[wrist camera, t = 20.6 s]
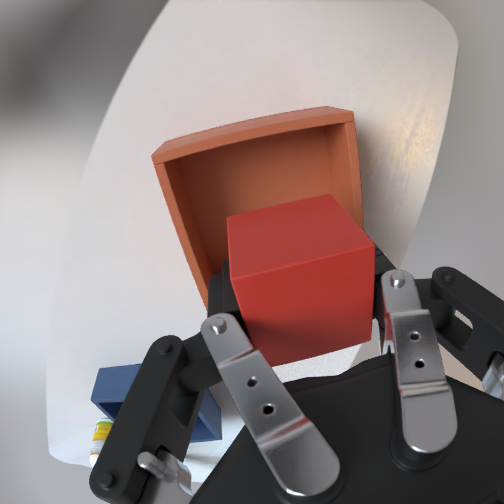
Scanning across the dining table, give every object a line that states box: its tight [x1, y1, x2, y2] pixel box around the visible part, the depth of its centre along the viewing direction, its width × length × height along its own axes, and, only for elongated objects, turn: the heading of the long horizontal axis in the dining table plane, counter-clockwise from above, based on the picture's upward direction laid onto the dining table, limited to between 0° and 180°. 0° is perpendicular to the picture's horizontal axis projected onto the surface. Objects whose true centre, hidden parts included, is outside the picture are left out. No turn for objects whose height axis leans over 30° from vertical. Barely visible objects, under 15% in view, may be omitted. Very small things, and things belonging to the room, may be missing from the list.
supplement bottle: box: [90, 418, 114, 466], centre depth 32 cm, size 5×5×10 cm
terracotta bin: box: [151, 106, 364, 312], centre depth 20 cm, size 11×11×4 cm
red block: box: [227, 194, 375, 367], centre depth 12 cm, size 5×5×5 cm
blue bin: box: [91, 364, 222, 443], centre depth 30 cm, size 11×11×4 cm
